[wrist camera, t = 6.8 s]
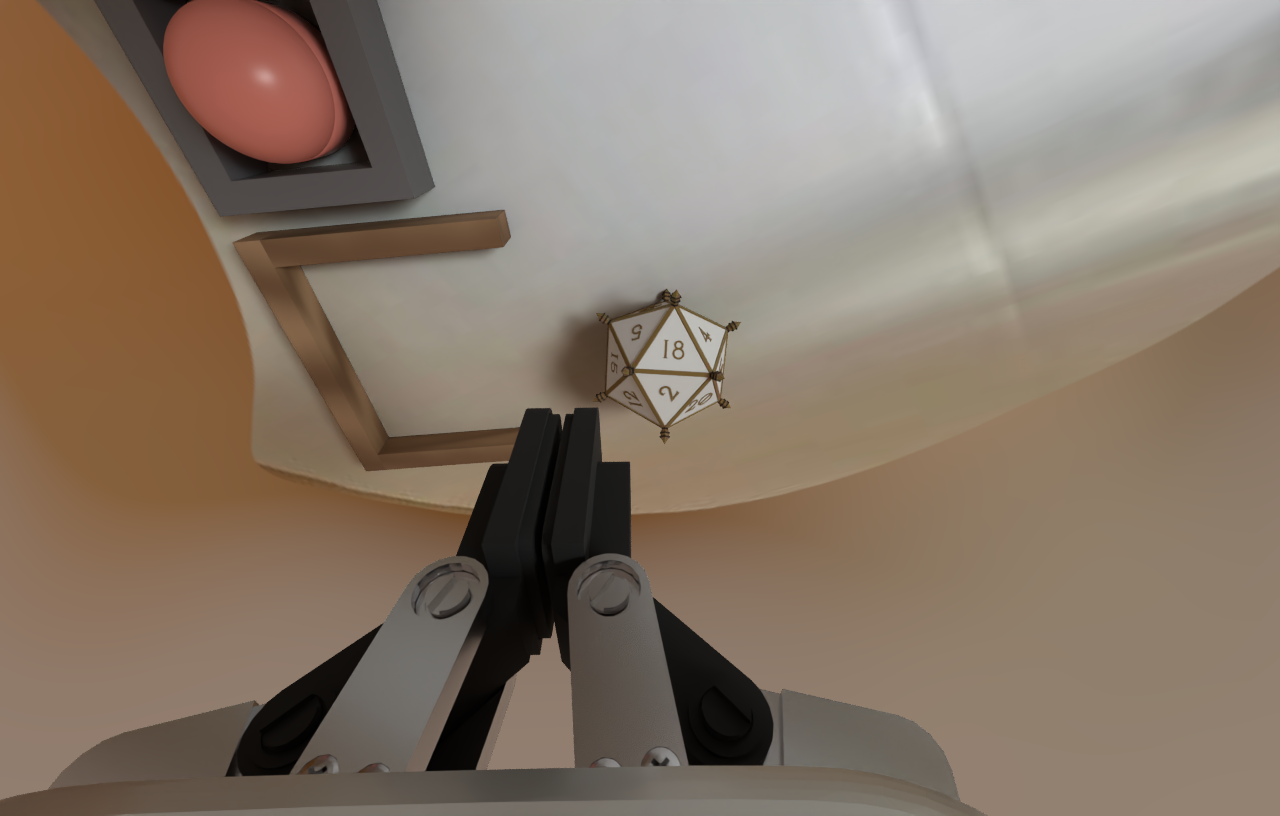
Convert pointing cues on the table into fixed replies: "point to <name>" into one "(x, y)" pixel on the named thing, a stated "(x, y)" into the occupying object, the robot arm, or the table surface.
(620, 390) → the game die
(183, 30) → the dome button
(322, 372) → the frame
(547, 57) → the table surface
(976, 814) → the robot arm
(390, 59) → the dome housing
